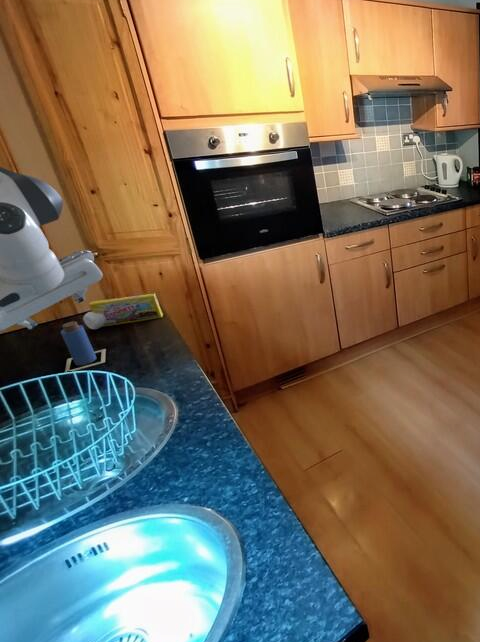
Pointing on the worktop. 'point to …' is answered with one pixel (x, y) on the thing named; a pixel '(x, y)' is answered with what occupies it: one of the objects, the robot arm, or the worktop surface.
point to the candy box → (128, 309)
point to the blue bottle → (78, 343)
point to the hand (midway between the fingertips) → (56, 312)
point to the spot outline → (87, 365)
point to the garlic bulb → (94, 320)
